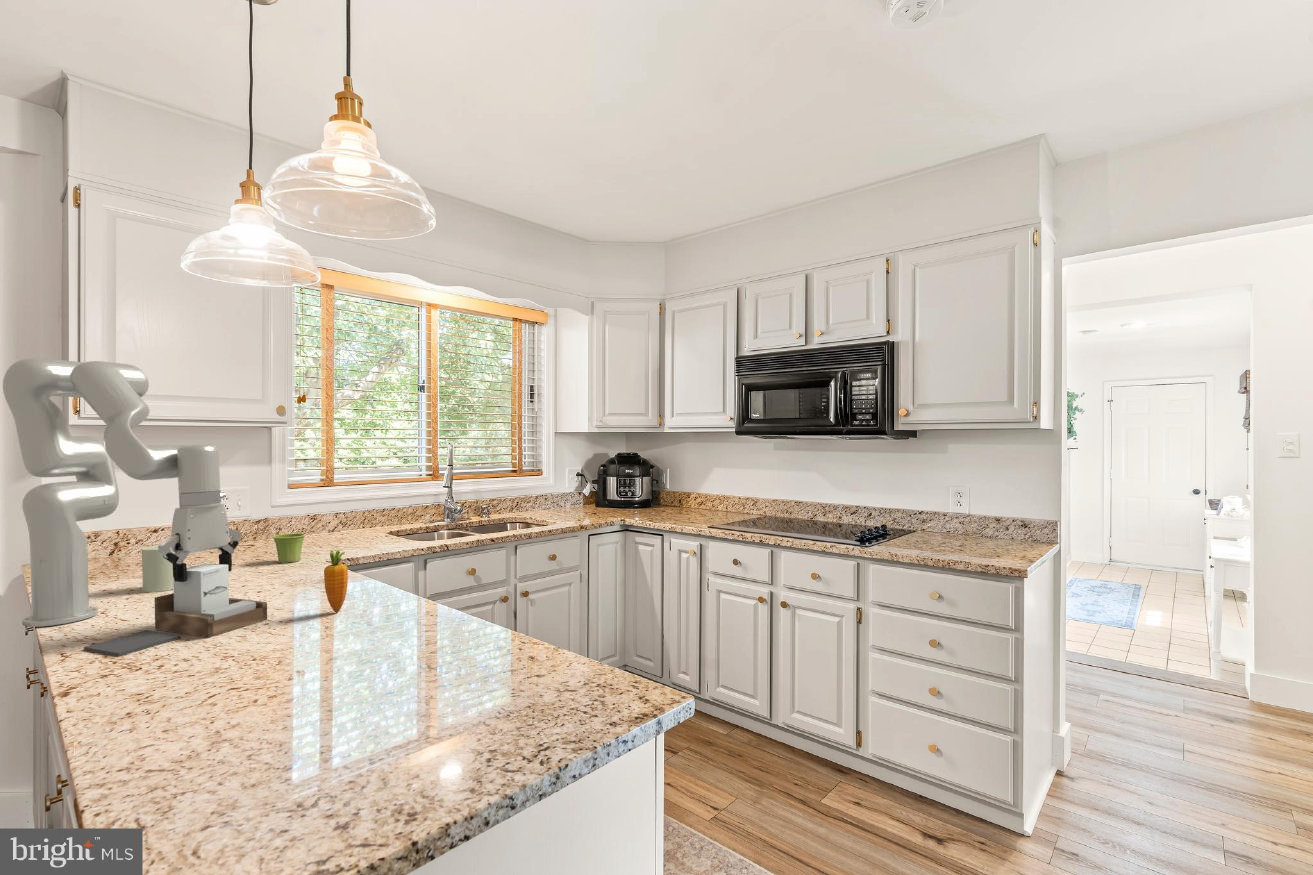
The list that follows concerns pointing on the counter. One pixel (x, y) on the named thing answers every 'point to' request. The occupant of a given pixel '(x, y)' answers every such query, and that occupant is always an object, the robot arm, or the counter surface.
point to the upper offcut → (229, 610)
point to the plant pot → (289, 547)
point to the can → (156, 570)
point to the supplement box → (202, 589)
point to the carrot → (336, 581)
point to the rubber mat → (132, 642)
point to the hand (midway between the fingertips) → (203, 576)
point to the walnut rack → (203, 618)
